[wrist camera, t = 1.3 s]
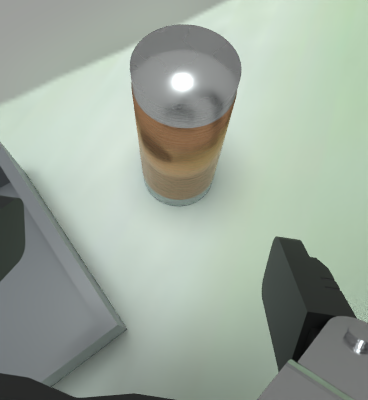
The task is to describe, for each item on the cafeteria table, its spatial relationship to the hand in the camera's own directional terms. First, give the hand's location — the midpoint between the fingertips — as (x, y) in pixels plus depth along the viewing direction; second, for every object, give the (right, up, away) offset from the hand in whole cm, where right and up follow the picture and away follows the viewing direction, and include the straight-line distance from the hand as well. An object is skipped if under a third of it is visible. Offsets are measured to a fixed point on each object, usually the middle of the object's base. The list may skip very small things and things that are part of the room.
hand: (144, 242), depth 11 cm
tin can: (+1, +4, +20) cm, 20 cm away
